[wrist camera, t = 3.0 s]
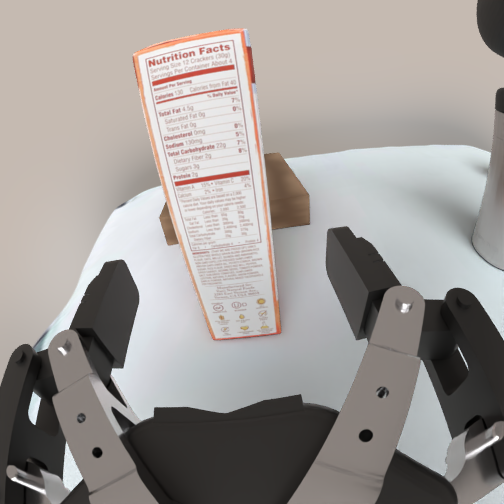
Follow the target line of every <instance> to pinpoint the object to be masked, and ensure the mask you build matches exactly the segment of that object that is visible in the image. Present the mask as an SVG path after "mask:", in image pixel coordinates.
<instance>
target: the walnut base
mask: <svg viewBox="0 0 504 504" xmlns="http://www.w3.org/2000/svg"><path fill="white" fill-rule="evenodd" d="M264 159H265V168H266V177H267V187H268V196H269V206H270V216H271V226H272V229H279V228H286V227H293V226H301V225H308V224H310V211H309V194H308V193H307V191H306V190H305V188H304V187H303V185H302V184H301V183H300V181H299V180H298V178H297V177H296V176H295V174H294V173H293V171H292V170H291V169H290V167H289V166H288V164H287V163H286V162H285V160H284V159H283V158H282V156H281V155H280V154H279V153H270V154H264ZM159 218H160V222H161V225H162V228H163V231H164V234H165V238H166V241H167V244H168V245H173V244H179V242H178V239H177V236H176V232H175V229H174V226H173V223H172V219H171V216H170V212H169V209H168V206H167V202H166V203H165V205H164V208H163V210H162V212H161V215H160V217H159Z"/></svg>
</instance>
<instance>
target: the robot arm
mask: <svg viewBox="0 0 504 504" xmlns="http://www.w3.org/2000/svg"><path fill="white" fill-rule="evenodd" d="M477 24H478V28H479V32H480V34H481V37H482V39H483V40H484V42H485V44H486V45H487V46H488V47H489V48H490V49H491V50H492V51H493V52H495V53H497V54H498V55H500V56H502V57H504V0H478V3H477ZM495 109H496V110H495V121H494V135H493V144H492V151H491V158H490V164H489V170H488V176H487V181H486V186H485V190H484V195H483V199H482V203H481V207H480V211H479V215H478V219H477V222H476V226H475V229H474V233H473V236H472V243H473V246H474V247H475V249H476V251H477V252H478V253H479V254H480V255H481V256H482V257H483V258H484V259H485V260H486V261H488V262H489V263H490V264H492V265H494V266H495V267H497V268H499V269H502V270H504V88H500V89H498V90H497V93H496V104H495ZM326 270H327V274H328V277H329V279H330V281H331V284H332V286H333V288H334V290H335V292H336V295H337V297H338V299H339V301H340V303H341V306H342V308H343V310H344V313H345V315H346V317H347V319H348V322H349V324H350V326H351V329H352V331H353V333H354V336H355V338H356V340H360V339H364V338H367V340H368V343H369V344H368V346H367V349H366V352H365V354H364V357H363V360H362V362H361V365H360V367H359V370H358V372H357V375H356V377H355V380H354V382H353V384H352V387H351V389H350V391H349V394H348V396H347V398H346V400H345V403H344V405H343V407H342V409H341V411H340V412H338V411H336V410H334V409H331V408H329V407H326V406H322V405H317V404H311V403H303V401H302V397H301V394H300V395H294V396H289V397H283V398H277V399H270V400H263V401H261V402H258V403H255V404H253V405H250V406H247V407H244V408H241V409H238V410H235V411H232V412H229V413H217V412H211V411H206V410H200V409H195V408H190V407H154V417H151V418H149V419H146V420H143V421H141V420H140V419H139V418H138V417H137V416H136V415H135V413H134V412H133V410H132V409H131V407H130V405H129V404H128V402H127V400H126V399H125V397H124V395H123V393H122V392H121V390H120V388H119V386H118V385H117V383H116V381H115V379H114V377H113V376H112V375H111V371H112V368H123V367H124V362H125V357H126V353H127V348H128V344H129V340H130V336H131V332H132V328H133V324H134V320H135V316H136V312H137V308H138V305H139V292H138V289H137V286H136V284H135V282H134V280H133V278H132V276H131V273H130V271H129V269H128V267H127V265H126V263H125V261H124V260H115V261H109V262H105V263H104V265H103V267H102V269H101V271H100V273H99V275H98V276H96V277H95V278H94V279H93V280H92V282H91V283H90V284H89V285H88V287H87V289H86V292H85V296H83V298H82V300H81V304H80V305H79V307H78V309H77V311H76V314H75V316H74V318H73V321H72V323H71V325H70V328H69V330H64V331H62V332H60V333H58V334H57V335H56V336H55V337H54V338H53V339H52V341H51V342H50V345H49V348H48V349H46V350H43V351H40V352H37V353H36V351H35V350H34V349H33V348H32V347H31V346H30V345H28V344H23V345H21V346H19V347H18V348H17V349H16V350H15V351H14V352H13V353H12V355H11V357H10V360H9V362H8V365H7V369H6V371H5V374H4V377H3V380H2V383H1V386H0V504H473V503H474V502H476V501H478V500H479V499H481V498H482V497H484V496H485V495H486V494H488V493H489V492H491V491H492V490H493V489H495V488H496V487H498V486H499V485H500V484H502V483H504V340H503V338H502V337H501V335H500V333H499V332H498V330H497V328H496V327H495V325H494V324H493V322H492V320H491V319H490V317H489V316H488V314H487V313H486V311H485V310H484V308H483V307H482V305H481V304H480V302H479V301H478V299H477V298H476V297H475V296H474V295H473V294H472V293H471V292H469V291H468V290H465V289H462V288H453V289H451V290H449V291H448V292H447V294H446V296H445V299H444V300H427V299H423V297H422V296H421V294H420V293H419V292H417V291H416V290H414V289H412V288H410V287H407V286H402V285H401V284H400V282H399V281H398V279H397V278H396V277H395V275H394V274H393V272H392V271H391V269H390V268H389V267H388V265H387V264H386V262H385V261H383V258H382V257H381V256H380V254H378V251H377V250H376V249H375V247H374V246H373V245H372V244H371V243H370V242H368V241H367V240H365V239H364V238H362V237H360V238H356V237H355V235H354V234H353V233H352V231H351V230H350V228H349V227H347V226H346V227H338V228H331V229H328V232H327V247H326ZM458 346H459V348H460V350H461V352H462V354H463V356H464V358H465V360H466V362H467V364H468V369H467V367H466V365H465V362H464V360H463V358H462V356H461V354H460V352H459V350H458ZM420 360H423V362H424V365H425V367H426V369H427V372H428V374H429V377H430V379H431V382H432V384H433V387H434V389H435V392H436V394H437V397H438V400H439V402H440V405H441V408H442V410H443V413H444V416H445V419H446V422H447V425H448V428H449V431H450V434H451V437H452V441H451V443H450V444H449V446H448V449H447V456H446V459H445V462H446V464H447V470H446V473H445V475H444V476H442V475H440V474H438V473H436V472H435V471H433V470H431V469H429V468H427V467H426V466H424V465H422V464H420V463H419V462H417V461H415V460H414V459H412V458H410V457H408V456H407V455H405V454H403V453H402V452H400V451H399V450H397V449H396V446H397V444H398V441H399V438H400V435H401V432H402V429H403V426H404V423H405V420H406V417H407V414H408V410H409V407H410V404H411V400H412V396H413V392H414V389H415V385H416V380H417V376H418V372H419V367H420ZM468 370H469V371H468ZM33 392H34V393H36V394H37V395H38V396H39V397H40V398H41V401H40V406H39V410H38V415H37V420H36V425H34V424H32V422H31V421H30V419H29V416H28V410H29V405H30V401H31V397H32V393H33ZM66 441H67V444H68V446H69V448H70V451H71V453H72V455H73V458H74V460H75V462H76V464H77V466H78V469H79V471H80V473H81V475H82V477H83V480H82V481H81V482H80V483H79V484H78V485H77V486H76V487H75V488H74V489H73V490H72V491H71V492H70V490H69V489H68V488H65V486H64V484H63V467H64V455H65V445H66Z"/></svg>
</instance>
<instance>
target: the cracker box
mask: <svg viewBox="0 0 504 504" xmlns="http://www.w3.org/2000/svg"><path fill="white" fill-rule="evenodd" d="M133 63H134V68H135V73H136V78H137V82H138V88H139V92H140V97H141V103H142V108H143V113H144V117H145V121H146V126H147V130H148V134H149V138H150V142H151V146H152V150H153V154H154V158H155V162H156V166H157V170H158V173H159V177H160V181H161V184H162V188H163V191H164V195H165V199H166V202H167V206H168V209H169V212H170V216H171V219H172V223H173V226H174V229H175V232H176V236H177V239H178V242H179V245H180V248H181V251H182V254H183V257H184V261H185V264H186V267H187V269H188V272H189V275H190V278H191V281H192V284H193V287H194V290H195V293H196V295H197V298H198V301H199V304H200V306H201V309H202V312H203V314H204V316H205V319H206V322H207V325H208V328H209V331H210V333H211V336H212V338H213V340H223V339H234V338H246V337H256V336H264V335H273V334H280V333H281V324H280V313H279V301H278V288H277V278H276V268H275V258H274V247H273V236H272V226H271V216H270V206H269V196H268V187H267V177H266V168H265V159H264V152H263V151H264V150H263V142H262V133H261V124H260V116H259V107H258V99H257V92H256V83H255V74H254V67H253V59H252V50H251V45H250V40H249V34H248V30H247V29H243V28H242V29H228V30H221V31H215V32H209V33H202V34H196V35H191V36H186V37H181V38H177V39H172V40H168V41H164V42H161V43H157V44H154V45H151V46H149V47H146V48H144V49H142V50H140V51H137V52H135V53H134V54H133Z"/></svg>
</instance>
